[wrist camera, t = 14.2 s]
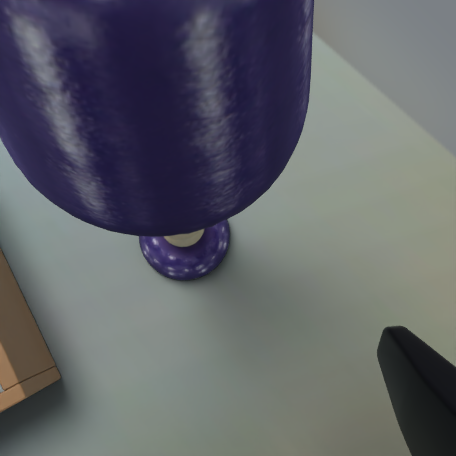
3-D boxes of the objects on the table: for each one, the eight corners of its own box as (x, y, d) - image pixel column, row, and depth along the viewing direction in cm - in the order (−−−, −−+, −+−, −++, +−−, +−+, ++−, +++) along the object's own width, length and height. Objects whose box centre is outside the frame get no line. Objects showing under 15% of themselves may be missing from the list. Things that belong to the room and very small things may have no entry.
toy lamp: (150, 175, 19) (-193, -557, 3) (245, 189, 19) (466, -424, 3) (132, 273, 18) (-523, 80, 2) (231, 287, 18) (432, 224, 2)
